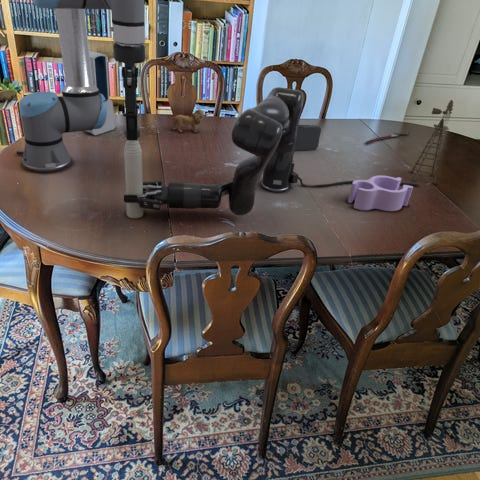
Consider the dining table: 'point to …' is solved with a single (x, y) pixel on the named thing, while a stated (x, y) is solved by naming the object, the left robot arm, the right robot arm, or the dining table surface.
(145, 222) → the dining table surface
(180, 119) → the lion figurine
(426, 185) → the dining table surface
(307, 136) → the handheld gaming console
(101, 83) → the electronic device
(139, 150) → the bottle
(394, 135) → the sword
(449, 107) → the miniature windmill
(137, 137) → the cap
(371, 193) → the clip
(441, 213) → the dining table surface
